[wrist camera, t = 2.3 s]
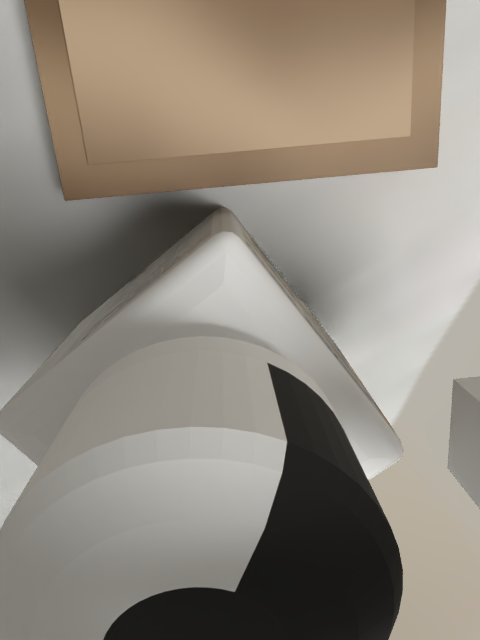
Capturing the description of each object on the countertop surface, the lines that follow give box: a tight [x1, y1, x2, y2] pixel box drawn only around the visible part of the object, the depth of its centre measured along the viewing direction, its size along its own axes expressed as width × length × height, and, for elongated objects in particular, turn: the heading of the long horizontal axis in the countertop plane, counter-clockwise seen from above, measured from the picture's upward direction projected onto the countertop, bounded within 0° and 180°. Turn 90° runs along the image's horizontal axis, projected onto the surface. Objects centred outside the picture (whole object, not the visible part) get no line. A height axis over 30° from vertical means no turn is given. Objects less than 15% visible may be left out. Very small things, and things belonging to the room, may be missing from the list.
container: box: [0, 207, 403, 640], centre depth 12 cm, size 8×8×13 cm
